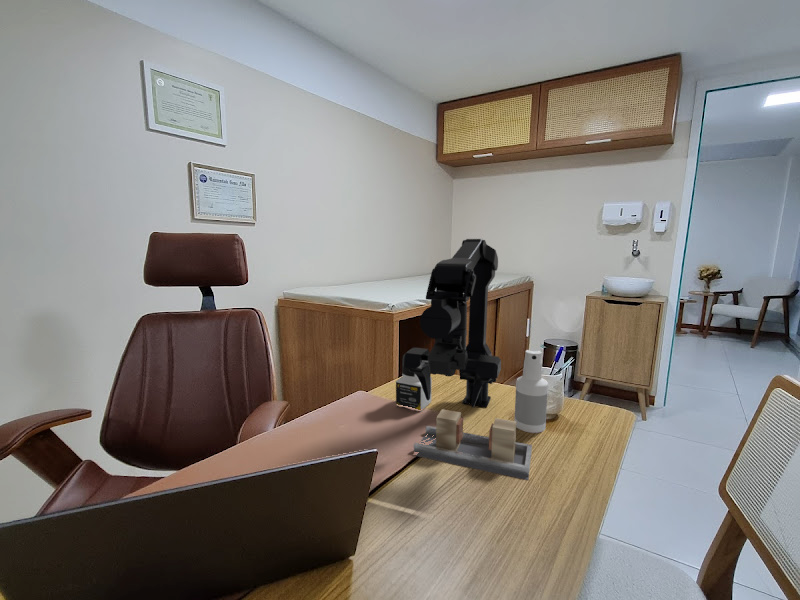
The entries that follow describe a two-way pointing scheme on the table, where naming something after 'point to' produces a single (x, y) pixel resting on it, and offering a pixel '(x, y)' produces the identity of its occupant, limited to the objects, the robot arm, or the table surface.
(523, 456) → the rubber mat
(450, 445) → the beech finger
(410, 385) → the medicine bottle
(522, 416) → the spray bottle
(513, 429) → the beige upright rectangular block
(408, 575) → the table surface
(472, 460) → the grey tray
